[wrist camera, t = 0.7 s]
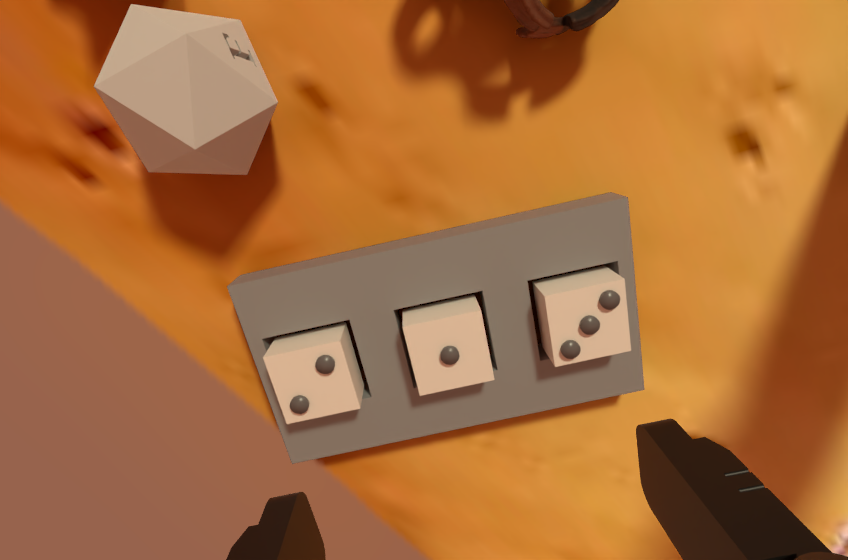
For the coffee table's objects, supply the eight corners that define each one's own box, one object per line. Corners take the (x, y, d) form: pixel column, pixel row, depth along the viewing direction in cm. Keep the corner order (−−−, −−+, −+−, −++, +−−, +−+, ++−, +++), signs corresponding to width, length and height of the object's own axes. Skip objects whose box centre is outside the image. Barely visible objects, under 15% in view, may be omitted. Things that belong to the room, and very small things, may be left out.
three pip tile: (604, 265, 32) (626, 280, 29) (611, 332, 33) (633, 352, 30) (532, 281, 32) (545, 297, 29) (542, 346, 33) (556, 369, 30)
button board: (611, 192, 32) (627, 197, 29) (628, 372, 36) (644, 389, 34) (240, 275, 33) (227, 286, 30) (299, 442, 37) (292, 463, 34)
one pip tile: (474, 294, 32) (481, 311, 29) (487, 358, 34) (495, 382, 30) (402, 309, 32) (402, 329, 29) (418, 373, 34) (419, 398, 31)
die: (290, 181, 31) (312, 95, 23) (150, 219, 28) (114, 134, 19) (241, 74, 32) (245, -49, 23) (99, 98, 28) (40, -39, 20)
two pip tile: (345, 322, 32) (339, 342, 29) (364, 385, 34) (360, 411, 31) (275, 337, 32) (261, 359, 29) (296, 399, 34) (285, 427, 31)
